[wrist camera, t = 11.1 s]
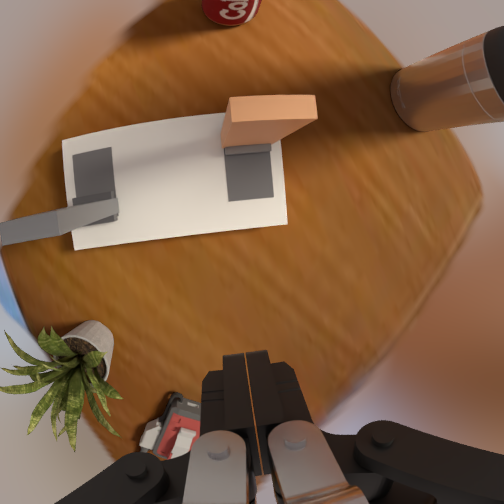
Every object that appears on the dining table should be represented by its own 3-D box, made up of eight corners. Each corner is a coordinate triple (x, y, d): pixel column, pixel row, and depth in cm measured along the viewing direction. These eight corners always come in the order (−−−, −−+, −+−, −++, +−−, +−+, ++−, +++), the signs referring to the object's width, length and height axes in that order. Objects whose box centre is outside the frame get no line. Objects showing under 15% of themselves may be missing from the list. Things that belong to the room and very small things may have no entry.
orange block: (269, 123, 30) (313, 83, 17) (272, 151, 31) (319, 130, 17) (219, 126, 30) (228, 85, 16) (222, 155, 30) (233, 135, 17)
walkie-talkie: (160, 381, 39) (131, 462, 42) (157, 401, 34) (128, 480, 37) (221, 400, 41) (180, 476, 43) (223, 421, 36) (180, 494, 39)
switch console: (271, 115, 33) (277, 109, 30) (281, 220, 36) (287, 224, 33) (72, 143, 31) (61, 140, 28) (84, 244, 33) (74, 250, 30)
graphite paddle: (116, 190, 30) (54, 198, 16) (120, 219, 30) (62, 247, 17) (74, 198, 29) (-4, 212, 15) (78, 226, 30) (4, 256, 16)
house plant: (24, 304, 34) (-46, 362, 18) (99, 259, 34) (32, 313, 18) (81, 388, 37) (42, 469, 21) (159, 357, 37) (139, 450, 22)
